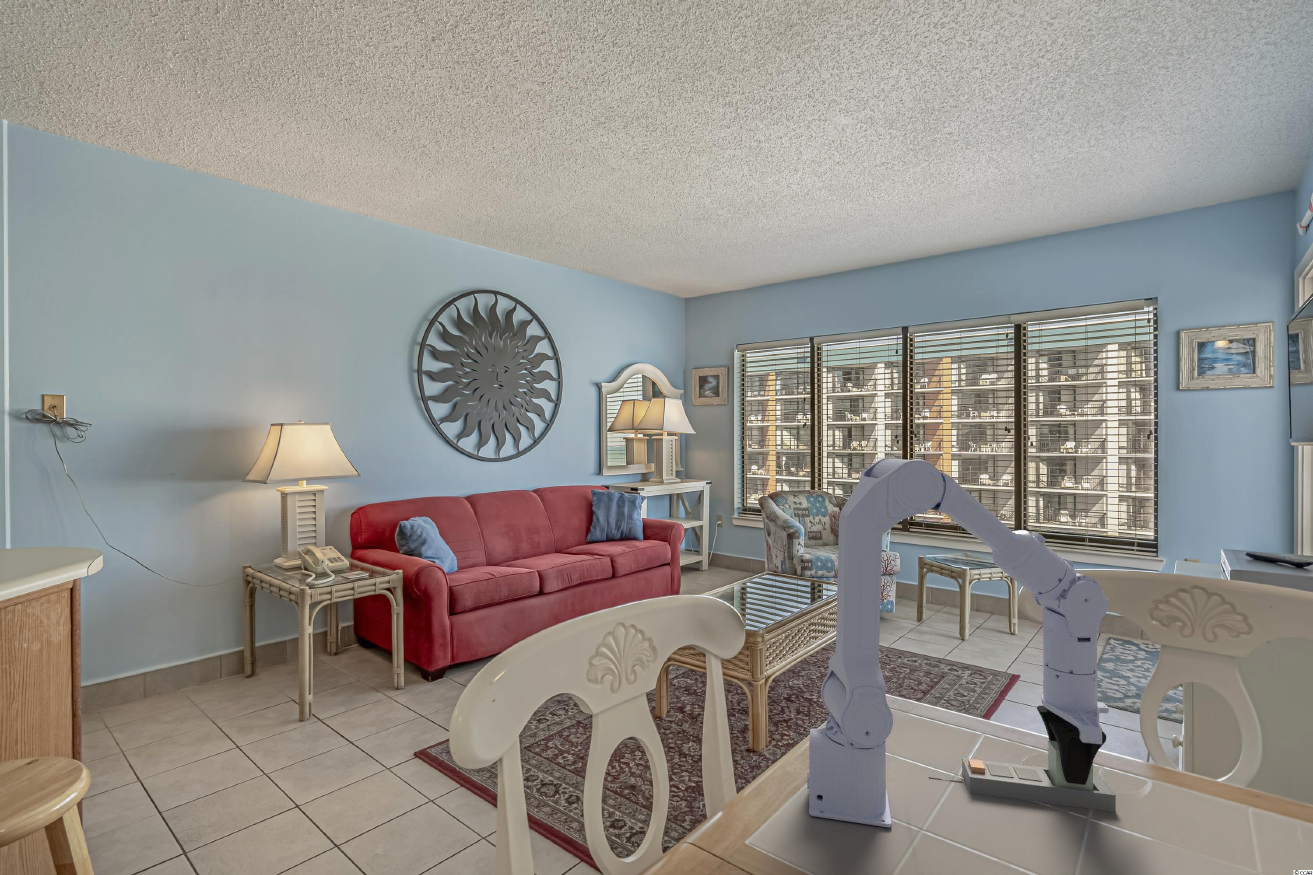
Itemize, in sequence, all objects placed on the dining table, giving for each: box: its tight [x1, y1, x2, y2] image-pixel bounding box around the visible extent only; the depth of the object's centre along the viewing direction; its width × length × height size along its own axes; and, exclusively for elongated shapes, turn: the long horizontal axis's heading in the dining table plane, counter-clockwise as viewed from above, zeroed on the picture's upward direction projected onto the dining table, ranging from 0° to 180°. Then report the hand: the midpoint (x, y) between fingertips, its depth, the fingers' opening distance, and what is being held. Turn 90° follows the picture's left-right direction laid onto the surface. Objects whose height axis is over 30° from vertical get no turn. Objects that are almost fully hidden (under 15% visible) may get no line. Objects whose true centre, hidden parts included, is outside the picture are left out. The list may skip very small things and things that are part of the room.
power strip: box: [928, 757, 1117, 813], centre depth 82 cm, size 20×5×4 cm, turn 74°
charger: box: [1047, 740, 1094, 790], centre depth 80 cm, size 4×3×7 cm
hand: (1070, 774), depth 80 cm, fingers closed on charger, 3 cm apart
